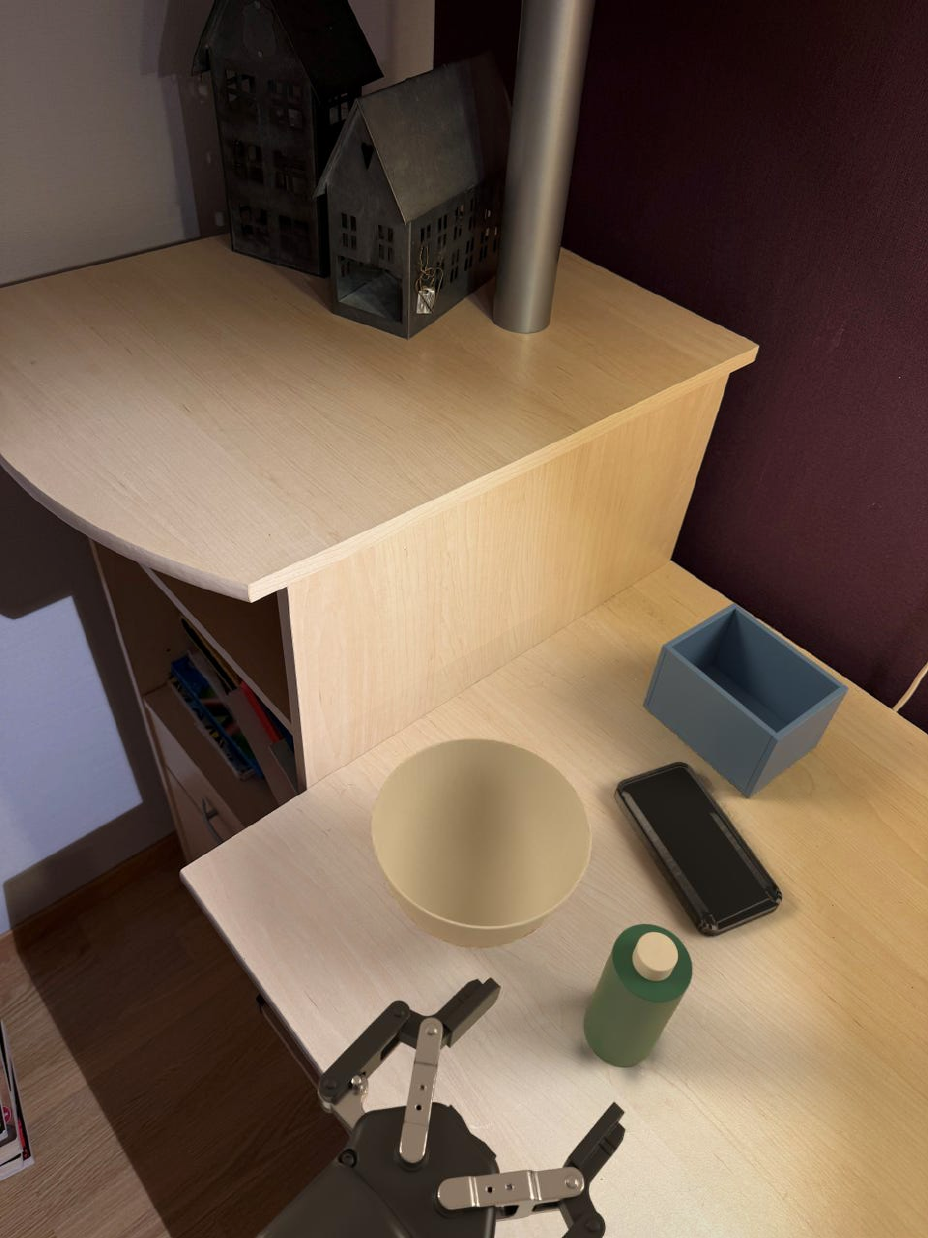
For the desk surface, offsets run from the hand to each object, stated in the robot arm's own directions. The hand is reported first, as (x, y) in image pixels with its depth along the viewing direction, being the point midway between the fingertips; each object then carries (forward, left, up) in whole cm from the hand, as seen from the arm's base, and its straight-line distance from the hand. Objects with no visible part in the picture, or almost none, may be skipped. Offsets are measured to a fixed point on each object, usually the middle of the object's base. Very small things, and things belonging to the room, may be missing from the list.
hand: (553, 1046), depth 48 cm
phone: (+8, -27, -18) cm, 33 cm away
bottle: (+1, -11, -18) cm, 21 cm away
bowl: (+16, -9, -18) cm, 26 cm away
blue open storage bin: (+15, -40, -18) cm, 46 cm away
